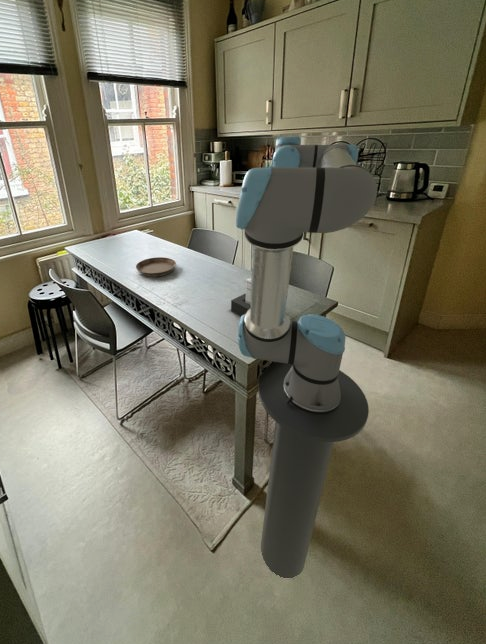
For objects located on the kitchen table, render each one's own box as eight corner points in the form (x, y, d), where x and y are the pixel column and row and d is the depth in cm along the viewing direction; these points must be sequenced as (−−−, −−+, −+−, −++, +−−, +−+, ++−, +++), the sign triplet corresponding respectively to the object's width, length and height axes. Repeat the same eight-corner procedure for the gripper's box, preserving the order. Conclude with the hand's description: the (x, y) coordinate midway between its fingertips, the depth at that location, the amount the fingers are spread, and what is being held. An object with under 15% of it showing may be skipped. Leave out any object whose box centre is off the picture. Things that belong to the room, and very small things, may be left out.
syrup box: (255, 317, 121) (258, 284, 115) (244, 311, 125) (246, 278, 119) (265, 312, 124) (268, 279, 118) (254, 306, 128) (256, 274, 122)
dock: (257, 325, 116) (258, 314, 114) (230, 311, 126) (231, 300, 124) (279, 312, 124) (280, 301, 122) (253, 299, 133) (253, 289, 131)
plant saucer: (128, 270, 165) (128, 264, 163) (160, 259, 177) (159, 253, 176) (151, 282, 151) (151, 276, 149) (184, 270, 163) (184, 264, 162)
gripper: (295, 181, 114) (289, 236, 123) (250, 191, 100) (247, 253, 109) (314, 183, 109) (306, 241, 118) (270, 194, 95) (265, 259, 103)
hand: (278, 247), depth 113 cm, fingers open, 13 cm apart
